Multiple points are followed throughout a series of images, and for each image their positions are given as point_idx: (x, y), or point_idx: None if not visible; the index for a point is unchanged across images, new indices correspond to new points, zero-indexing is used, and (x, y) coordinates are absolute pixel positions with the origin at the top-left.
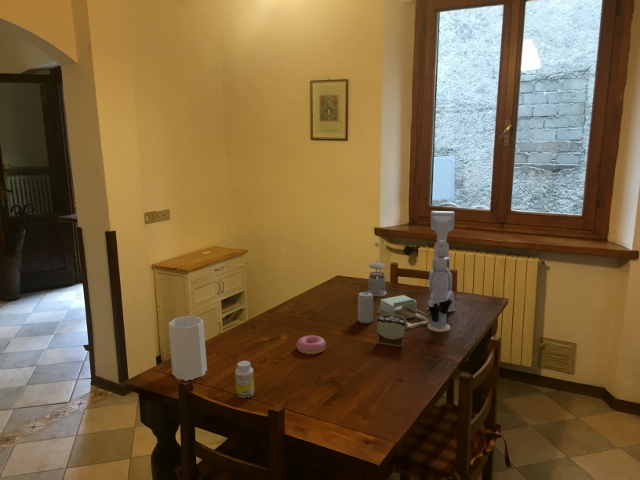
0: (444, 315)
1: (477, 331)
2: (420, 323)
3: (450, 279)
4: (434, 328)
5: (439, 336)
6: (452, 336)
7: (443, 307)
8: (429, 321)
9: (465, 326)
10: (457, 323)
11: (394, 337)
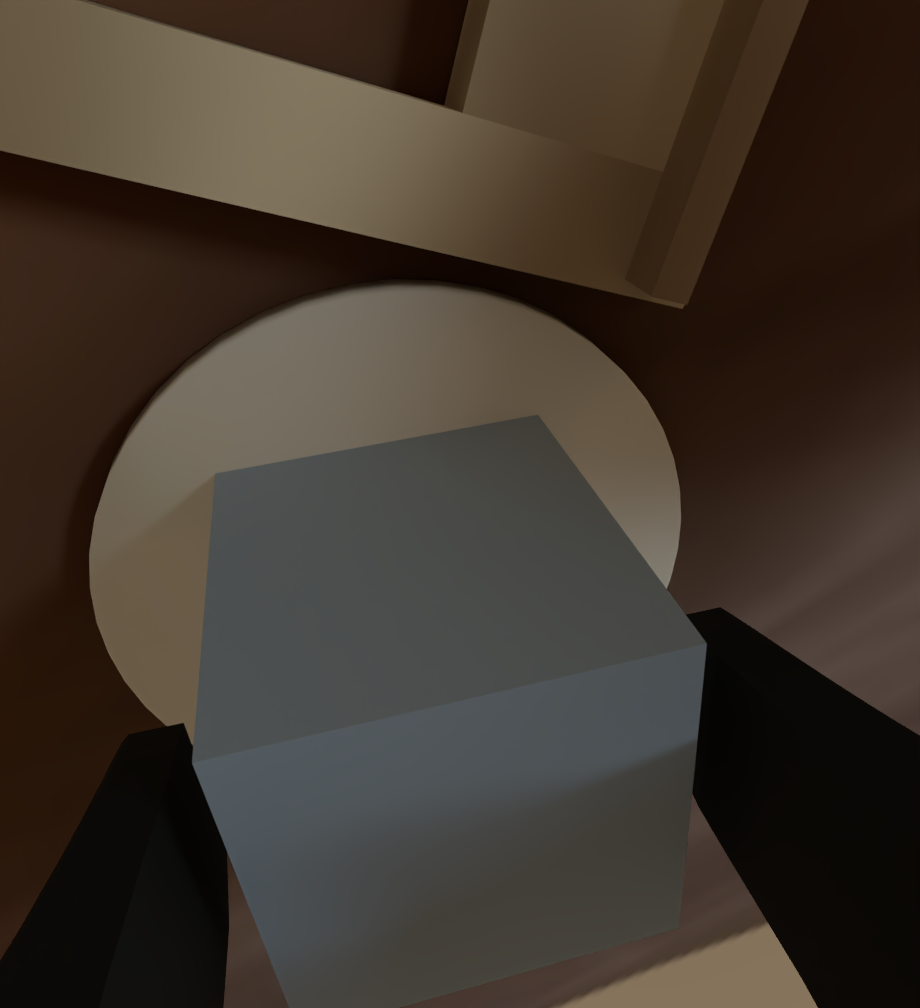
0: (533, 966)
1: (704, 928)
2: (28, 139)
3: None
4: (189, 622)
5: (13, 856)
6: (244, 929)
7: (900, 1001)
8: (459, 240)
9: None
10: (863, 609)
11: None
